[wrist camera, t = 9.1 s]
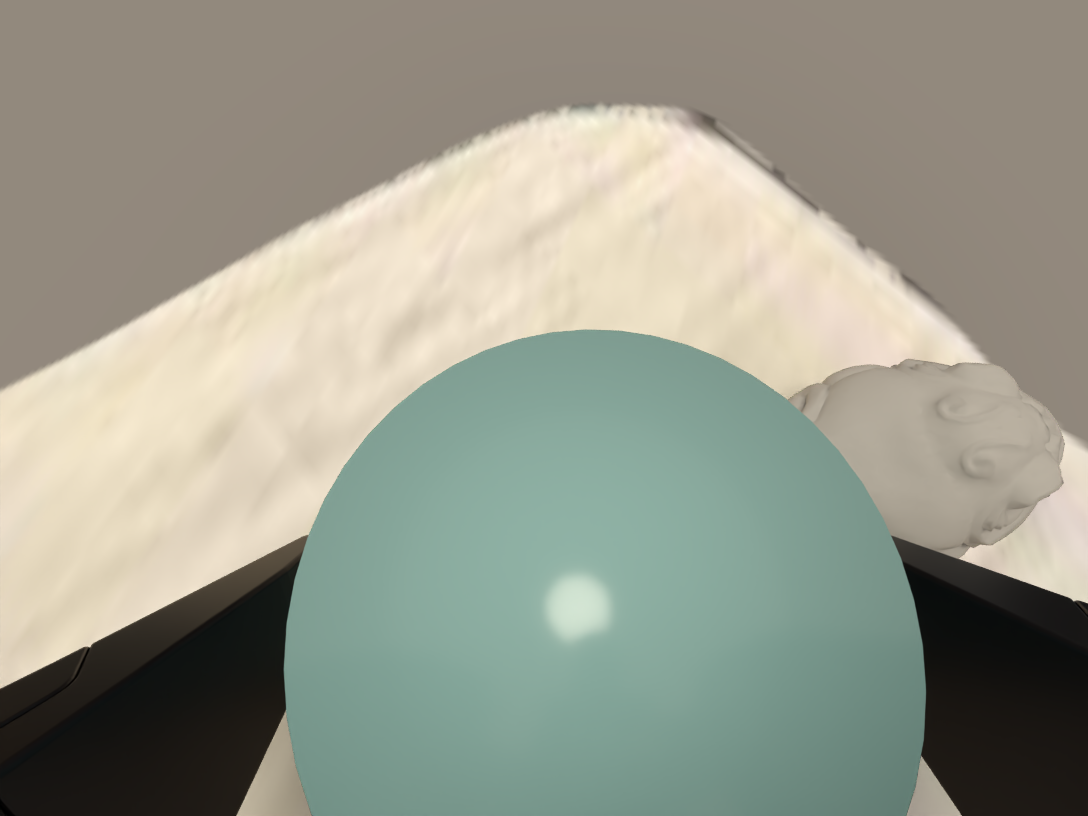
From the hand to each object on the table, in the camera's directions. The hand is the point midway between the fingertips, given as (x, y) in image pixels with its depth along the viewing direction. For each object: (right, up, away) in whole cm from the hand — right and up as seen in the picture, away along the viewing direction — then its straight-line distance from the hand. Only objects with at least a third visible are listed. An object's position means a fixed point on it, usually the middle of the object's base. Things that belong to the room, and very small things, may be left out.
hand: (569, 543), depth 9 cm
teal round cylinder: (0, -3, +7) cm, 8 cm away
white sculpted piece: (+9, 0, +9) cm, 13 cm away
